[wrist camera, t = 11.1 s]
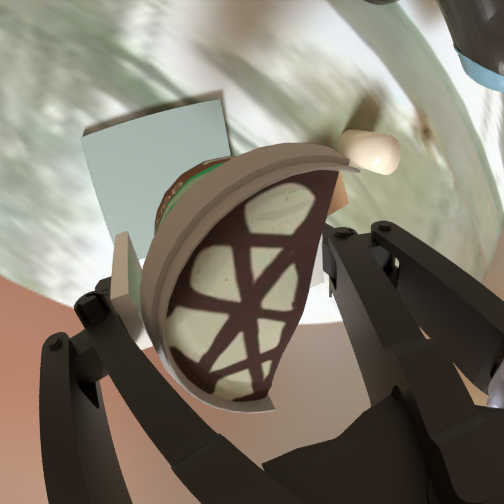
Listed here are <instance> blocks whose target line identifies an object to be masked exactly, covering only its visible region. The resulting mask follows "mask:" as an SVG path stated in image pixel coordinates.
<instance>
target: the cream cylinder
mask: <svg viewBox="0 0 504 504" xmlns="http://www.w3.org/2000/svg"><path fill="white" fill-rule="evenodd" d="M338 153H340V154H342V155H343V156H345V157H347V158H348V159H350V162H349V164H351V165H355V166H358V167H361V168H364V169H368V170H371V171H374V172H377V173H380V174H383V175H388V174H391V173H392V172H393V171H394V170H395V169H396V168H397V166H398V164H399V161H400V156H401V151H400V146H399V143H398V141H397V140H396V138H395V137H393V136H391V135H387V134H381V133H375V132H369V131H363V130H356V129H348V130H346V131H344V132H343V133H342V135H341V136H340V138H339V141H338Z"/></svg>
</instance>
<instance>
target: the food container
mask: <svg viewBox="0 0 504 504" xmlns="http://www.w3.org/2000/svg"><path fill="white" fill-rule="evenodd" d="M349 162H350V159H348V158H347V157H345V156H343V155H342V154H340V153H338V152H337V151H335V150H333V149H332V148H330V147H327V146H322V145H317V144H312V143H281V144H276V145H271V146H266V147H260V148H257V149H255V150H252V151H249V152H247V153H244V154H242V155H239V156H226V157H221V158H216V159H211V160H207V161H203V162H201V163H200V164H198V165H196V166H195V167H193V168H191V169H189V170H188V171H186V172H184V173H183V174H181V175H180V176H179V178H178V179H177V180H176V181H175V182H174V183H173V184H172V185H171V187H170V188H169V189H168V190H167V191H166V192H165V194H164V196H163V198H162V201H161V203H160V205H159V207H158V210H157V213H156V218H155V227H154V238H153V240H152V242H151V245H150V248H149V251H148V253H147V256H146V259H145V262H144V265H143V270H142V277H141V285H140V305H141V315H142V318H143V322H144V326H145V329H146V333H147V335H148V337H149V339H150V340H151V342H152V344H153V346H154V348H155V350H156V352H157V354H158V356H159V357H160V359H161V361H162V363H163V365H164V367H165V368H166V370H167V371H168V373H169V374H170V375H171V376H172V377H173V378H174V379H175V381H176V382H177V383H178V384H180V385H181V386H182V387H183V388H184V389H185V390H186V391H187V392H188V393H189V394H191V395H192V396H193V397H195V398H196V399H197V400H199V401H200V402H203V403H205V404H207V405H209V406H211V407H213V408H217V409H220V410H224V411H229V412H236V413H262V412H269V411H275V410H276V409H275V407H274V405H273V403H272V401H271V399H270V397H269V395H268V391H269V389H270V388H271V386H272V380H273V377H274V374H275V371H276V369H277V366H278V364H279V361H280V358H281V356H282V354H283V352H284V350H285V348H286V346H287V344H288V342H289V341H290V339H291V337H292V335H293V333H294V331H295V329H296V327H297V325H298V323H299V321H300V319H301V316H302V314H303V311H304V308H305V304H306V300H307V296H308V293H309V288H310V284H311V279H312V274H313V269H314V264H315V259H316V255H317V251H318V246H319V242H320V239H321V235H322V232H323V228H324V225H325V221H326V218H327V214H328V211H329V207H330V203H331V200H332V196H333V193H334V189H335V186H336V182H337V179H338V175H339V171H338V170H345V171H353V172H360V170H359V169H356V168H354V167H351V166H348V165H349ZM335 169H338V170H335Z"/></svg>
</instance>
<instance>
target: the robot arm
mask: <svg viewBox="0 0 504 504" xmlns="http://www.w3.org/2000/svg"><path fill="white" fill-rule="evenodd" d="M364 1H366V2H369V3H372V4H376V5H385V4H389V3H393V2H396V1H399V0H364ZM436 1H437V3H438V5H439V7H440V10H441V12H442V14H443V16H444V19H445V21H446V24H447V26H448V29H449V31H450V34H451V37H452V40H453V45H454V48H455V50H456V52H457V53H458V56H459V58H460V61H461V64H462V67H463V69H464V71H465V72H466V74H467V75H468V76H469V77H470V78H471V79H473V80H474V81H475V82H477V83H478V84H480V85H482V86H485V87H487V88H490V89H492V90H495V91H499V92H503V93H504V0H436ZM396 258H397V259H398V261H399V268H398V267H396V266H395V259H396ZM324 272H326V273H327V274H328V275H329V297H332V293H333V295H334V298H335V300H336V303H337V306H338V308H339V311H340V314H341V316H342V319H343V322H344V325H345V327H346V330H347V333H348V336H349V338H350V341H351V344H352V347H353V350H354V352H355V356H356V359H357V362H358V364H359V367H360V370H361V373H362V376H363V379H364V382H365V386H366V389H367V392H368V395H369V398H370V402H371V408H369V409H368V410H366V411H364V412H363V413H362V414H361V415H360V416H359V417H358V418H357V419H356V420H355V421H354V422H353V423H352V424H351V425H350V426H349V427H348V428H347V429H346V430H345V431H344V432H343V433H342V434H341V435H340V436H338V437H337V438H335V439H332V440H328V441H325V442H321V443H317V444H313V445H309V446H306V447H301V448H297V449H295V450H292V451H290V452H288V453H286V454H284V455H282V456H279V457H277V458H274V459H272V460H270V461H267V462H265V463H262V466H263V469H264V471H263V470H262V469H261V468H260V467H258V466H257V465H256V464H255V463H254V462H252V461H251V460H250V459H249V458H248V457H247V456H245V455H244V454H243V453H242V452H241V451H240V450H239V449H237V448H236V447H235V446H234V445H233V444H232V443H231V442H230V441H228V440H227V439H226V438H225V437H224V436H222V435H221V434H217V433H216V432H215V431H214V430H212V429H211V428H210V427H209V426H208V425H207V424H206V423H205V422H204V421H203V420H202V419H201V418H200V417H199V416H198V415H197V414H196V412H195V411H194V410H193V409H192V408H191V407H190V406H189V405H188V404H187V403H186V402H185V401H184V400H183V399H182V398H181V396H180V395H179V394H178V393H177V392H176V391H175V390H174V389H173V388H172V386H171V385H170V384H169V383H168V382H167V381H166V380H165V378H164V377H163V376H162V375H161V374H160V373H159V371H158V370H157V369H156V368H155V367H154V365H153V364H152V363H151V362H150V360H149V359H148V358H147V357H146V356H145V354H144V353H143V352H142V349H145V348H148V347H151V346H153V344H152V342H151V340H150V339H149V337H148V335H147V333H146V329H145V326H144V322H143V318H142V315H141V305H140V285H141V277H142V268H141V266H140V263H139V260H138V258H137V255H136V252H135V249H134V247H133V244H132V241H131V238H130V235H129V232H128V231H125V232H122V233H120V234H117V235H115V244H114V254H113V264H112V276H111V277H108V278H105V279H102V280H100V281H99V282H98V284H97V285H96V287H95V291H92V292H89V293H87V294H85V295H83V296H82V297H80V298H79V299H78V300H77V301H76V303H75V305H74V310H75V312H76V314H77V316H78V317H79V319H80V321H81V322H82V324H83V326H84V328H85V329H84V330H83V331H81V332H80V333H78V334H77V335H75V336H73V337H72V338H69V336H68V335H67V334H66V333H65V332H58V333H55V334H53V335H51V336H50V337H49V338H47V340H46V341H45V343H44V344H43V347H42V353H41V354H42V355H41V367H40V390H39V393H40V394H39V417H40V440H41V453H42V462H43V471H44V478H45V485H46V491H47V497H48V502H49V504H133V503H132V500H131V498H130V495H129V493H128V490H127V487H126V484H125V481H124V478H123V475H122V472H121V469H120V465H119V462H118V459H117V456H116V452H115V448H114V445H113V441H112V437H111V434H110V430H109V425H108V421H107V416H106V412H105V407H104V402H103V397H102V392H101V387H100V381H99V380H100V379H102V378H103V377H105V376H107V375H108V374H109V376H110V377H111V379H112V381H113V383H114V384H115V386H116V388H117V389H118V390H119V393H120V394H121V396H122V397H123V399H124V400H125V402H126V404H127V405H128V407H129V408H130V410H131V412H132V413H133V414H134V416H135V417H136V419H137V420H138V422H139V423H140V425H141V426H142V428H143V429H144V431H145V432H146V433H147V435H148V436H149V438H150V439H151V440H152V442H153V443H154V444H155V446H156V447H157V448H158V450H159V451H160V452H161V453H162V455H163V456H164V457H165V458H166V460H167V461H168V462H169V464H170V465H171V468H172V470H173V472H174V473H175V474H176V475H177V477H178V478H179V479H180V480H181V481H182V483H183V484H184V485H185V486H186V487H187V488H188V489H189V491H190V492H191V493H192V494H193V495H194V496H195V497H196V498H197V499H198V500H199V502H201V504H504V301H502V300H501V299H500V298H499V297H497V296H496V295H495V294H494V293H493V292H491V291H490V290H489V289H487V288H486V287H485V286H484V285H482V284H481V283H480V282H478V281H477V280H476V279H475V278H473V277H472V276H471V275H469V274H468V273H466V272H465V271H464V270H462V269H461V268H460V267H458V266H457V265H456V264H454V263H453V262H451V261H450V260H449V259H447V258H446V257H444V256H443V255H441V254H440V253H439V252H437V251H436V250H434V249H433V248H431V247H430V246H428V245H427V244H425V243H424V242H422V241H421V240H419V239H418V238H416V237H415V236H413V235H412V234H410V233H409V232H407V231H405V230H404V229H402V228H401V227H399V226H398V225H396V224H394V223H392V222H388V221H378V222H375V223H373V224H372V225H371V233H366V234H359V235H358V233H357V232H356V231H355V230H354V229H351V228H347V227H338V228H333V227H332V226H330V225H328V224H326V223H325V225H324V228H323V232H322V235H321V239H320V242H319V246H318V251H317V255H316V259H315V264H314V269H313V274H312V279H311V284H310V288H311V287H313V286H316V285H318V284H320V283H323V282H324ZM418 326H419V327H420V328H421V329H422V330H423V331H424V332H425V333H426V334H427V335H428V336H429V337H430V338H431V339H426V338H425V337H424V335H423V334H422V332H421V330H420V328H419V327H418ZM453 363H454V364H455V365H456V366H457V367H458V369H459V370H460V371H461V372H462V373H463V374H464V375H465V376H466V377H467V378H468V379H469V380H470V381H471V382H472V383H473V384H474V385H475V386H476V387H477V388H479V389H480V390H481V391H482V392H484V393H485V394H487V395H488V396H489V398H488V400H487V407H485V406H478V405H475V404H474V402H473V400H472V398H471V396H470V394H469V392H468V390H467V388H466V387H465V385H464V383H463V381H462V379H461V377H460V375H459V373H458V371H457V370H456V368H455V366H454V364H453Z"/></svg>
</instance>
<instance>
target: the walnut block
mask: <svg viewBox="0 0 504 504" xmlns="http://www.w3.org/2000/svg"><path fill="white" fill-rule="evenodd" d="M335 170H338V169H335ZM338 171H339V175H338V179H337V182H336V186H335V189H334V193H333V196H332V200H331V203H330V207H329V211H328V214H327V216H329V215H330V214H332V213H334V212H335V211H337V210H338V209H340V208H342V207H343V206H345V205H346V204H348V199H347V195H346V191H345V188H344V184H343V180H342V177H341V173H340V170H338Z"/></svg>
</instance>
